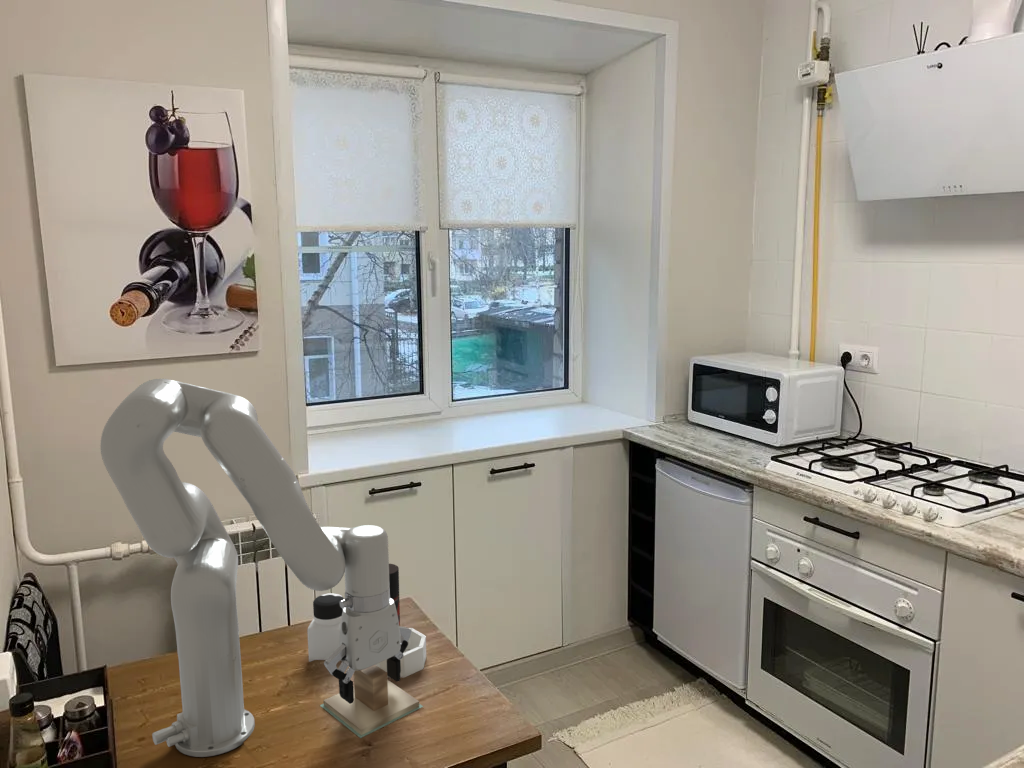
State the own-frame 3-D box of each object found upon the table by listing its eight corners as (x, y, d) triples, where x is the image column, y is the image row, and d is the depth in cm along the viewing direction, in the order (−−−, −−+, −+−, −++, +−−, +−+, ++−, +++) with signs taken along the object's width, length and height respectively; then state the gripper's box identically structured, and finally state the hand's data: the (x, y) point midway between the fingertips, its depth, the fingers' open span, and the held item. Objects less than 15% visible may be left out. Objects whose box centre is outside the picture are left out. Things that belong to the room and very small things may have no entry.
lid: (361, 735, 129) (359, 696, 128) (323, 705, 138) (322, 668, 137) (419, 706, 137) (418, 669, 136) (380, 679, 146) (379, 645, 145)
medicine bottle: (344, 662, 153) (342, 605, 151) (308, 662, 153) (305, 605, 151) (352, 644, 160) (350, 589, 158) (318, 644, 160) (315, 589, 158)
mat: (360, 741, 129) (360, 737, 129) (319, 708, 138) (319, 705, 138) (423, 709, 137) (423, 706, 137) (381, 680, 147) (381, 677, 147)
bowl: (390, 686, 145) (389, 661, 144) (358, 664, 152) (357, 640, 152) (436, 665, 152) (435, 641, 151) (403, 645, 160) (402, 622, 159)
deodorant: (384, 627, 168) (382, 561, 165) (406, 634, 164) (404, 567, 162) (365, 638, 162) (363, 571, 160) (388, 646, 159) (386, 577, 157)
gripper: (335, 621, 126) (339, 718, 128) (421, 589, 137) (423, 678, 140) (311, 606, 131) (316, 699, 134) (396, 576, 143) (398, 663, 146)
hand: (371, 688), depth 137 cm, fingers open, 9 cm apart
